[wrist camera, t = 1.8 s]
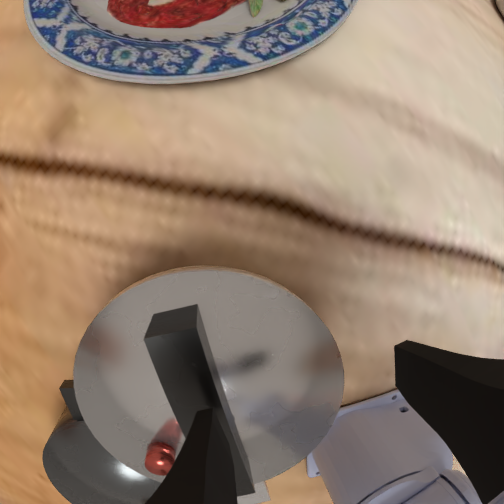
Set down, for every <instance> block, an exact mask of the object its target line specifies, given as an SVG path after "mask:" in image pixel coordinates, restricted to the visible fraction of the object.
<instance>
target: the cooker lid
mask: <svg viewBox="0 0 504 504" xmlns="http://www.w3.org/2000/svg"><path fill="white" fill-rule="evenodd" d="M73 375H74V390H75V396H76V400H77V403H78V406H79V409H80V412H81V414H82V417H83V419H84V421H85V423H86V424H87V426H88V428H89V429H90V431H91V432H92V434H93V435H94V437H95V438H96V439H97V440H98V441H99V443H100V444H101V445H102V446H103V447H104V448H105V449H106V450H107V451H108V452H109V453H110V454H111V455H112V456H114V457H115V458H116V459H117V460H119V461H120V462H121V463H123V464H124V465H126V466H127V467H129V468H130V469H132V470H134V471H136V472H137V473H139V474H141V475H143V476H146V477H148V478H150V479H152V480H155V481H158V482H161V483H162V481H163V480H164V478H165V477H166V475H167V474H168V472H169V470H170V469H171V467H172V465H173V463H174V461H175V460H176V458H177V456H178V454H179V452H180V450H181V448H182V446H183V443H184V441H185V439H186V437H187V434H188V432H189V430H190V427H191V424H192V422H193V419H194V416H195V414H196V412H197V411H200V410H204V409H208V408H214V410H215V413H216V415H217V417H218V420H219V422H220V424H221V427H222V429H223V431H224V433H225V436H226V438H227V440H228V442H229V445H230V449H231V454H232V458H233V463H234V470H235V481H236V492H237V502H238V504H257V503H261V502H266V501H270V500H271V499H270V496H269V492H268V488H267V485H266V482H265V480H268V479H271V478H273V477H275V476H277V475H279V474H281V473H283V472H285V471H286V470H288V469H290V468H291V467H293V466H295V465H296V464H297V463H299V462H300V461H301V460H303V459H304V458H305V457H307V456H308V455H309V454H310V453H311V452H312V451H313V450H314V449H315V448H316V447H317V446H318V445H319V443H320V442H321V441H322V440H323V439H324V437H325V436H326V434H327V433H328V431H329V430H330V428H331V427H332V425H333V423H334V421H335V419H336V416H337V414H338V412H339V408H340V405H341V402H342V397H343V390H344V369H343V364H342V359H341V355H340V352H339V350H338V347H337V344H336V342H335V340H334V338H333V337H332V335H331V333H330V331H329V329H328V328H327V327H326V326H325V324H324V323H323V322H322V320H321V319H320V318H319V317H318V316H317V314H316V313H315V312H314V311H313V310H312V309H311V308H310V307H309V306H308V305H307V304H306V303H305V302H304V301H302V300H301V299H300V298H299V297H298V296H297V295H295V294H294V293H293V292H291V291H290V290H288V289H287V288H285V287H284V286H282V285H280V284H278V283H276V282H274V281H272V280H270V279H268V278H266V277H264V276H261V275H258V274H255V273H252V272H249V271H245V270H241V269H236V268H231V267H223V266H211V265H204V266H186V267H181V268H175V269H169V270H166V271H163V272H159V273H156V274H153V275H150V276H148V277H146V278H144V279H142V280H140V281H137V282H135V283H133V284H132V285H130V286H129V287H127V288H126V289H124V290H123V291H121V292H120V293H118V294H117V295H116V296H115V297H114V298H113V299H112V300H111V301H110V302H109V303H107V304H106V305H105V307H104V308H103V309H102V310H101V311H100V312H99V314H98V315H97V316H96V318H95V319H94V320H93V321H92V323H91V324H90V325H89V327H88V328H87V330H86V332H85V334H84V336H83V337H82V339H81V341H80V344H79V347H78V350H77V353H76V357H75V363H74V370H73Z"/></svg>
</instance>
